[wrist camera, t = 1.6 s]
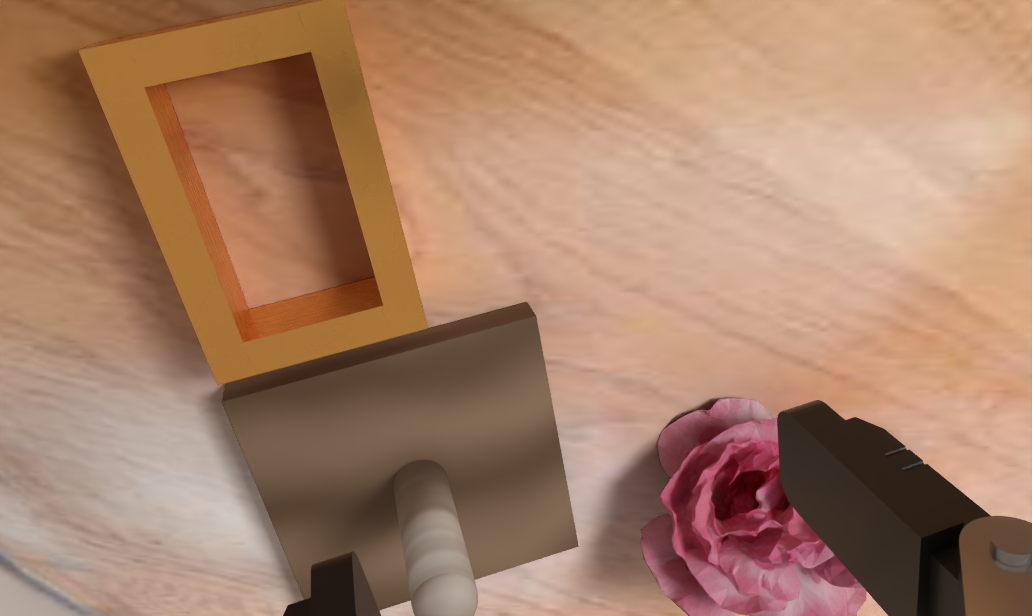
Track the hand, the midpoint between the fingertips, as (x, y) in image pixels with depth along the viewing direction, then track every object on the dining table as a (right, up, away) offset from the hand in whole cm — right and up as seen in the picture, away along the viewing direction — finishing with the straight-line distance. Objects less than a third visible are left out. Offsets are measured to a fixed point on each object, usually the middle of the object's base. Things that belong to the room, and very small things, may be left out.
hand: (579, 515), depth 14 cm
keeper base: (-6, -3, +21) cm, 22 cm away
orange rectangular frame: (-10, +8, +15) cm, 20 cm away
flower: (+10, -4, +26) cm, 28 cm away
